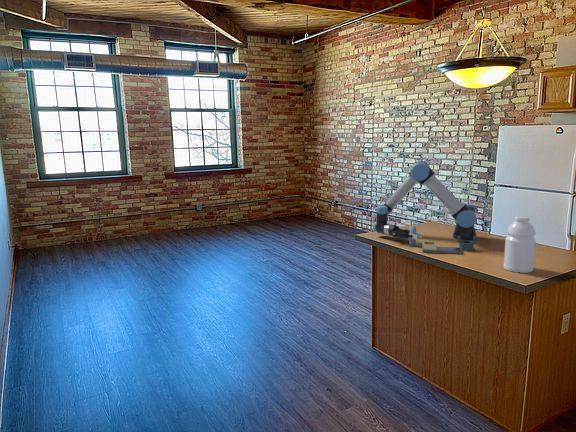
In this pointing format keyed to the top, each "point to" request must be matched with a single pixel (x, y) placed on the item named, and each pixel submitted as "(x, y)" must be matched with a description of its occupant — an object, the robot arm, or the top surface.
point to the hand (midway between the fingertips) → (419, 236)
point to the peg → (412, 231)
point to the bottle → (520, 246)
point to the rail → (438, 248)
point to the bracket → (466, 244)
